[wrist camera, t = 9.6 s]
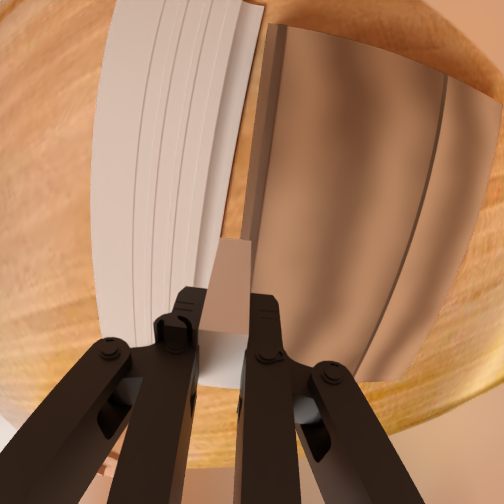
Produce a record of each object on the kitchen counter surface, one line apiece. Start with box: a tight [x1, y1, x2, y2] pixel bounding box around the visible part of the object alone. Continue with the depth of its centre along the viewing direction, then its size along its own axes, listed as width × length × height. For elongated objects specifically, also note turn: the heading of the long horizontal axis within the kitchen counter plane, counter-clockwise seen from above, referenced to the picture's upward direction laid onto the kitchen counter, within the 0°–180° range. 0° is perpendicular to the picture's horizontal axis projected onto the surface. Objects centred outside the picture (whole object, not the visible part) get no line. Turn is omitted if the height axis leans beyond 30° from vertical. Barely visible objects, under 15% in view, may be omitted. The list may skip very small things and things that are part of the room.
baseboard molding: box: [90, 0, 265, 348], centre depth 22 cm, size 31×3×12 cm
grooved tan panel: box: [240, 23, 503, 382], centre depth 22 cm, size 18×28×3 cm, turn 173°
